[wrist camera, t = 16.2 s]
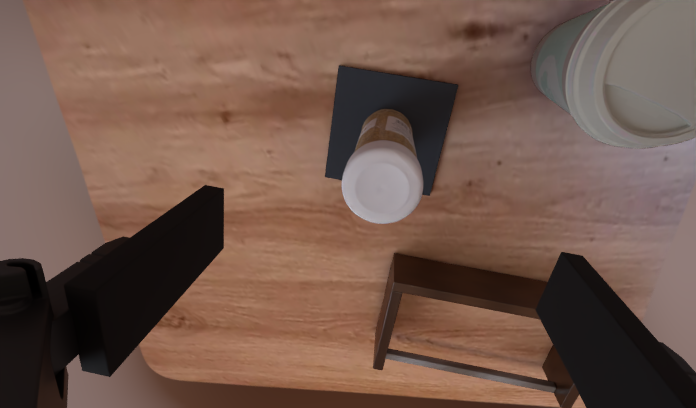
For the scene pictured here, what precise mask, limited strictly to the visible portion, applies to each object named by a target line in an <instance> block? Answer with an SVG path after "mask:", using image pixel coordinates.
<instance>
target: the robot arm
mask: <svg viewBox="0 0 696 408" xmlns="http://www.w3.org/2000/svg"><path fill="white" fill-rule="evenodd" d="M223 248H224V189H223V188H218V187H213V186H207V185H205V186H203V187H202V188H200V189H199V190H198V191H196V192H195V193H193V194H192V195H190V196H189V197H188V198H186V199H185V200H183V201H182V202H180V203H179V204H178V205H176V206H175V207H173V208H172V209H170V210H169V211H168V212H166V213H165V214H163V215H162V216H160V217H159V218H158V219H156V220H155V221H153V222H152V223H150V224H149V225H148V226H146V227H145V228H143V229H142V230H141V231H139V232H138V233H136V234H135V235H133V236H132V237H131V238H128V237H121V238H118V239H115V240H113V241H110V242H107V243H105V244H103V245H102V246H100V247H99V248H98V249H96V250H95V251H93V252H92V254H89V255H87V256H85V257H84V258H82V259H81V260H80V262H76V263H75V264H73V265H72V266H70V267H69V268H67V269H66V270H64V271H63V272H61V273H60V274H58V275H57V276H55V277H54V278H52V279H51V280H49V281H48V282H46V281H45V277H44V273H43V269H42V266H41V264H40V263H39V262H37V261H35V260H31V259H23V258H22V259H8V260H3V261H0V408H67V394H68V372H67V368H66V366H67V365H68V363H70V362H71V361H72V360H73V359H74V358H75V357H76V356H77V355H78V354H79V358H80V362H81V367H82V370H83V371H86V372H91V373H95V374H100V375H104V376H109V377H110V376H111V375H112V374H113V373H114V372H115V371H116V370H117V368H118V367H119V366H120V365H121V364H122V363H123V362H124V360H125V359H126V358H127V357H128V356H129V355H130V353H131V352H132V351H133V350H134V349H135V348H136V347H137V346H138V345H139V343H140V342H141V341H142V340H143V339H144V338H145V337H146V335H147V334H148V333H149V332H150V331H151V330H152V329H153V328H154V326H155V325H156V324H157V323H158V322H159V321H160V320H161V318H162V317H163V316H164V315H165V314H166V313H167V312H168V311H169V309H170V308H171V307H172V306H173V305H174V304H175V303H176V301H177V300H178V299H179V298H180V297H181V296H182V295H183V293H184V292H185V291H186V290H187V289H188V288H189V287H190V286H191V284H192V283H193V282H194V281H195V280H196V279H197V278H198V276H199V275H200V274H201V273H202V272H203V271H204V270H205V269H206V267H207V266H208V265H209V264H210V263H211V262H212V261H213V259H214V258H215V257H216V256H217V255H218V254H219V253H220V252H221V250H222V249H223ZM535 310H536V312H537V314H538V316H539V318H540V320H541V322H542V323H543V325H544V327H545V329H546V331H547V333H548V335H549V337H550V339H551V341H552V343H553V344H554V346H555V348H556V350H557V352H558V354H559V356H560V358H561V360H562V362H563V364H564V366H565V367H566V369H567V371H568V373H569V375H570V377H571V379H572V381H573V383H574V385H575V387H576V388H577V390H578V392H579V394H580V396H581V398H582V400H583V402H584V404H585V406H586V408H696V372H695V371H694V370H693V369H692V368H691V367H690V366H689V365H688V363H687V362H686V361H685V360H684V359H683V358H682V357H680V356H679V355H678V354H677V353H675V352H674V351H673V350H671V349H670V348H669V347H667V346H666V345H665V344H664V343H661V342H658V341H657V339H656V338H655V337H654V336H653V335H652V334H651V333H650V331H649V330H648V329H647V328H646V327H645V326H644V325H643V324H642V322H641V321H640V320H639V319H638V318H637V317H636V316H635V315H634V313H633V312H632V311H631V310H630V309H629V308H628V307H627V306H626V304H625V303H624V302H623V301H622V300H621V299H620V298H619V297H618V295H617V294H616V293H615V292H614V291H613V290H612V289H611V288H610V286H609V285H608V284H607V283H606V282H605V281H604V280H603V278H602V277H601V276H600V275H599V274H598V273H597V272H596V271H595V269H594V268H593V267H592V266H591V265H590V264H589V263H588V262H587V260H586V259H585V258H584V257H583V256H581V255H575V254H570V253H565V252H561V254H560V256H559V258H558V261H557V263H556V265H555V267H554V270H553V272H552V274H551V276H550V278H549V281H548V283H547V285H546V287H545V289H544V292H543V294H542V296H541V298H540V300H539V303H538V305H537V307H536V309H535Z"/></svg>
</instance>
